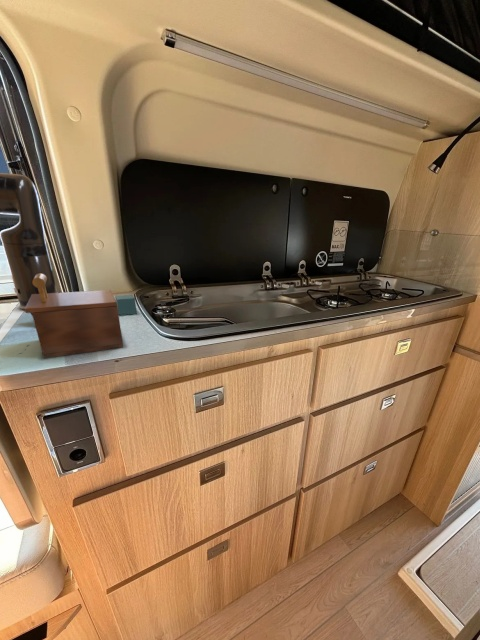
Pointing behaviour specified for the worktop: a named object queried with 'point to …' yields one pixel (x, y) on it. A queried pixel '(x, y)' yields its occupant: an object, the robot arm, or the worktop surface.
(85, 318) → the chest
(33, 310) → the lid
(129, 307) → the block
